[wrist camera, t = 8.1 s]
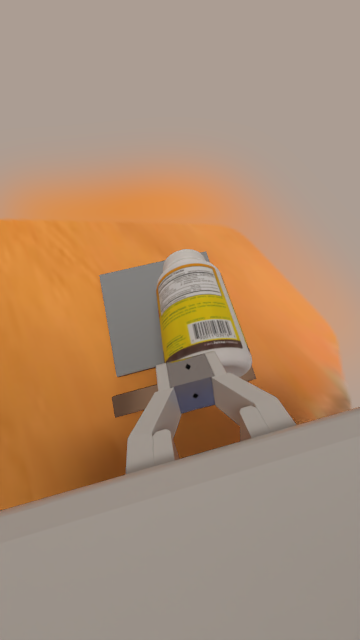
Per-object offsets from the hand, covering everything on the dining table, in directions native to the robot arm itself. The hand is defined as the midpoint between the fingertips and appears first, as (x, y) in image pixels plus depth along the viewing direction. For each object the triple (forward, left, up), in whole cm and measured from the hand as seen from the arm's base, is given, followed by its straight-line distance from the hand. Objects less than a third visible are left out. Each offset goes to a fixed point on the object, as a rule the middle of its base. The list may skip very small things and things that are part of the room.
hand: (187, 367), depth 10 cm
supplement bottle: (+1, -1, -3) cm, 3 cm away
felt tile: (0, +6, -8) cm, 10 cm away
